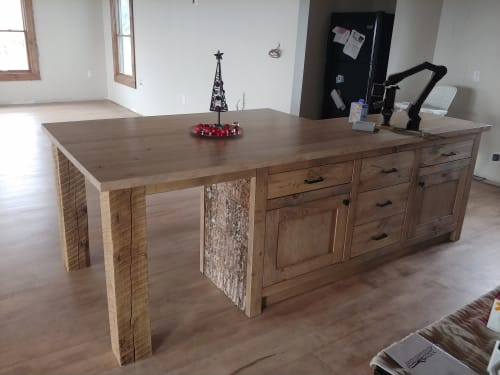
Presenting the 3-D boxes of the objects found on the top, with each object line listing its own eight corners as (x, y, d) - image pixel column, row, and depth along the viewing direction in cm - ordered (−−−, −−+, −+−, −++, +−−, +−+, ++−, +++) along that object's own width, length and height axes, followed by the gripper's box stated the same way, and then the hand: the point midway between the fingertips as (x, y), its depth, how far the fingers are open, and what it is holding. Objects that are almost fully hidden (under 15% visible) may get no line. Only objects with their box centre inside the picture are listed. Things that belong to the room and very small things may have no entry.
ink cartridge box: (366, 125, 270) (369, 100, 265) (359, 125, 267) (362, 100, 263) (355, 121, 278) (358, 98, 273) (348, 122, 275) (351, 98, 271)
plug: (390, 127, 261) (392, 115, 259) (389, 128, 257) (391, 116, 255) (381, 126, 263) (383, 114, 261) (380, 127, 258) (382, 115, 256)
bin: (374, 129, 257) (375, 122, 256) (372, 133, 247) (373, 126, 246) (354, 127, 261) (355, 120, 259) (352, 130, 251) (352, 123, 249)
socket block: (394, 128, 263) (395, 125, 262) (393, 131, 254) (394, 127, 253) (377, 126, 266) (377, 123, 266) (375, 129, 257) (375, 125, 257)
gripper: (377, 94, 265) (373, 120, 270) (373, 97, 248) (369, 125, 254) (396, 95, 262) (392, 122, 267) (394, 99, 245) (390, 127, 250)
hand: (385, 124), depth 259 cm, fingers open, 8 cm apart
